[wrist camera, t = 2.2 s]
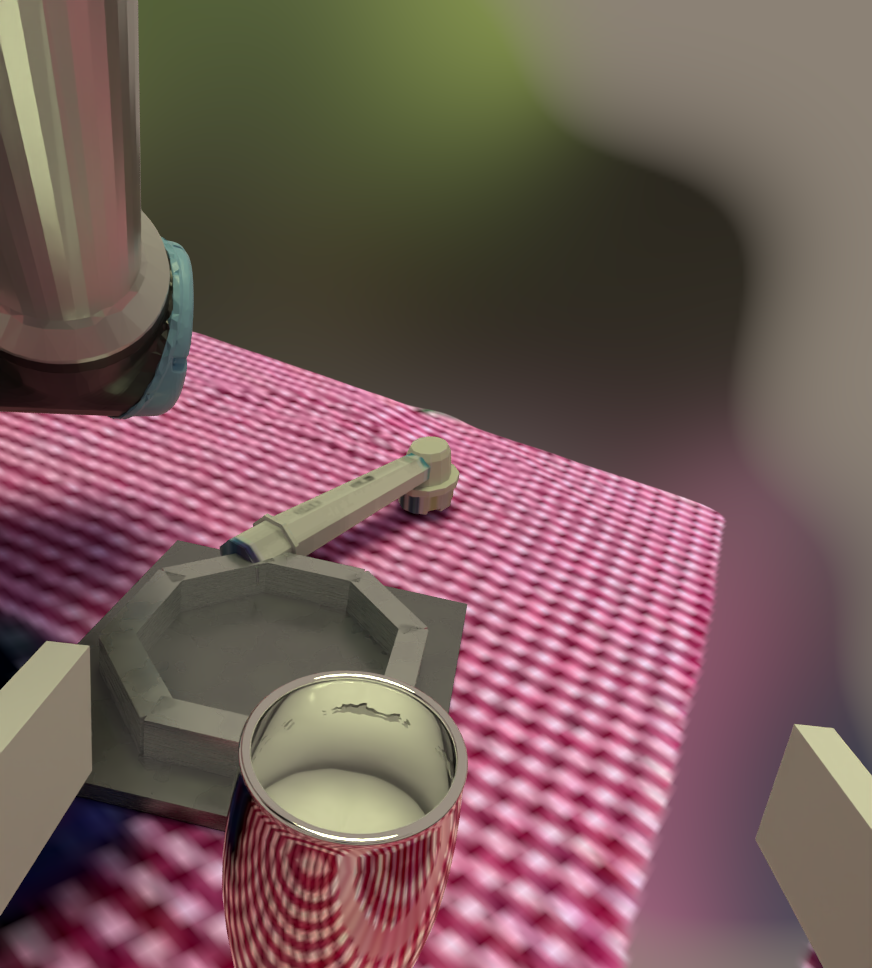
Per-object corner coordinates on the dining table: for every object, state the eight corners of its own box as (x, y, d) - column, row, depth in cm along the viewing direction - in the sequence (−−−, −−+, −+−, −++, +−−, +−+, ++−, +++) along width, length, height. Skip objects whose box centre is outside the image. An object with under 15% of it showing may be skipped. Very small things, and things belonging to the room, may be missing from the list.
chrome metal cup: (341, 1215, 23) (415, 899, 17) (164, 1094, 26) (174, 773, 19) (428, 1008, 29) (506, 719, 23) (279, 924, 32) (315, 638, 25)
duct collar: (-28, 770, 36) (-35, 716, 34) (177, 551, 56) (178, 512, 54) (418, 878, 35) (430, 826, 33) (464, 615, 55) (473, 576, 53)
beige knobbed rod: (210, 525, 51) (428, 415, 69) (218, 601, 55) (423, 477, 73) (263, 555, 49) (474, 432, 67) (267, 633, 52) (468, 496, 70)
